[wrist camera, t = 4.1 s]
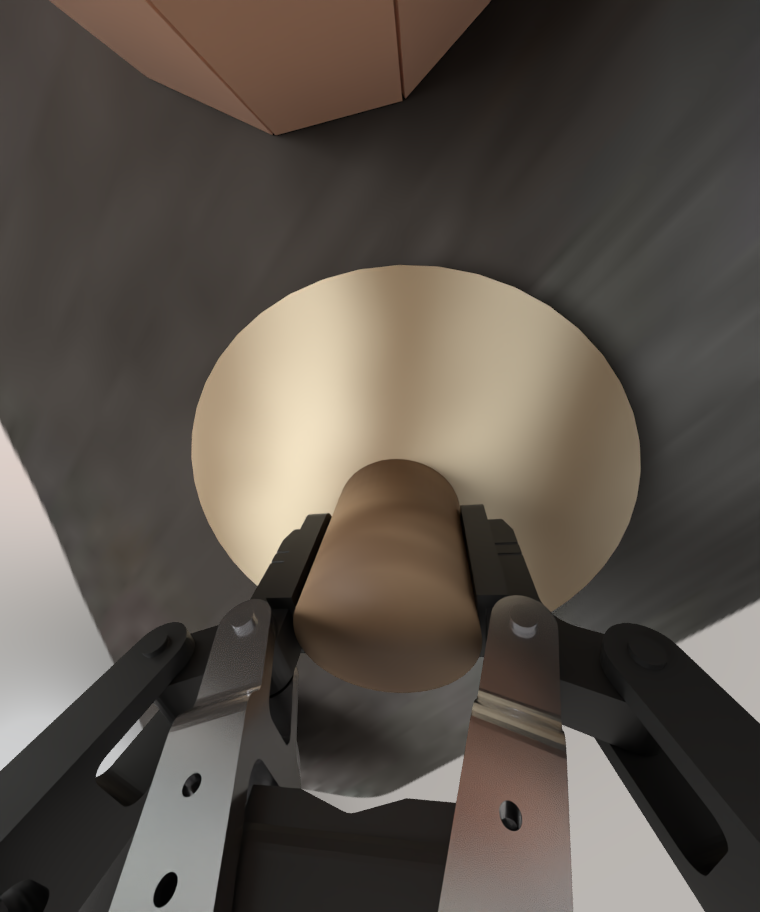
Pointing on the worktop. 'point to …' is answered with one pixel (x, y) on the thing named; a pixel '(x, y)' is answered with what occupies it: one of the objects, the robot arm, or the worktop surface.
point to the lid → (413, 458)
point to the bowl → (281, 51)
